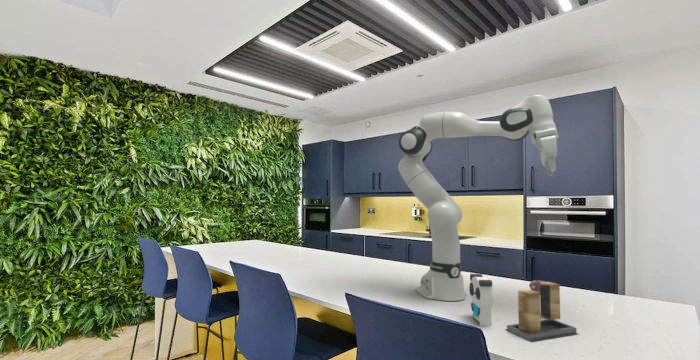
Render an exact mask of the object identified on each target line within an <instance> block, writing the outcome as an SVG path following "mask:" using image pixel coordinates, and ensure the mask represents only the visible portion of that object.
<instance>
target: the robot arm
mask: <svg viewBox="0 0 700 360" xmlns="http://www.w3.org/2000/svg"><path fill="white" fill-rule="evenodd" d="M556 126H557V125H556V123H555V122H554V112H553V108H552V106H551V103H550V100H549V99H548V97H547V96H546V95H543V94H532V95H531V94H530V95H528V96H526V97H525V98H523V100H522V101H521V102H520V103H519V104H517V105H515V106H513V107H511V108H508V109H506V110H505V111H504V112H503V113H502V114H501V116H500V118H499V120H498V121H497V120H496V121H491V120H490V121H486V120H485V121H484V120H477V119H474V118H472V117H470V116H469V115H467V114H465V113H464V112H460V111H454V110H453V111H452V110H451V111H449V110H448V111H439V112H432V113H429V114H425V115H423V116H422V117H421V119H420V121H419V125H415V126H413V127H412V128H410V129H407V130H406V131H404V132H402V134H401V135H400V136H399V138H398V147H399V149H400V150H401V152H403V154H404V157H403V158H401V160H399V163H398V165H397V169H398V172H399V173H400V176H401V177H402V179H403V180H404V182H405V184H406V185H407V187H408V188H409V189H410V191H411V193H413V195H414V196H415V198H416V199H417V200H418V201H419V203H421V204H423V205H424V207H426V209H427V210H428V211H427V219H428V222H429V230H430V235H431V244H432V245H431V246H432V260H431V261H430V262H429V265H430V266H429V270H428V271H427V272H426V273H425V274H423V275H422V276H421V278H420V285H419V286H416V287H415V291H416V292H418V294H420V295H422V296H423V297H424V298H426V299H429V300H438V301H445V302H457V301H462V300H465V299H466V296H467V292H466V291H465V286H464V276H463V275H462V273H461V272H462V262H461V241H460V238H459V232H458V224H460V222H461V221H462V218H463V210H462V208H461V206H460V205H459V204H458V203H457V202H456V201H455V199H454V198H453V197H452V196H451V195H450V194H449V193H448V192H447V191H446V189H444V188H443V186H441V184H440V183H439V182H438V180H437V179H436V178H435V177H434V176H433V174H432V173H431V171H429V169H428V168H427V166H426V165H425V164H424V162H425V161H426V159H427V158H428V156H429V155H431V152H432V150H433V143H432V141H433V140H436V139H454V138H464V137H465V138H468V137H491V138H492V137H494V138H495V137H498V138H499V137H500V138H503V139H506V140H508V141H511V142H519V141H522V140H524V139H525V138H526V137H527V136H528V135H529V137H530V142H531V145H534V146H535V147H536V148H537V149H538V152H539V158H540V160H541V165H542V166H543V167H545V169H546V171H547V174H548V176H553V175H554V174H555V171H557V165H556V164H557V163H556V158H557V156H558V146H557V145H558V144H557V140H558V139H559V138H560V137H559V134H558V130H557V127H556Z"/></svg>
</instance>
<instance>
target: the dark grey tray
mask: <svg viewBox="0 0 700 360" xmlns="http://www.w3.org/2000/svg"><path fill="white" fill-rule="evenodd" d="M540 322H541V332H535V333H526V332H524V331H522V330H520V329H519V323H514V324H508V325H506V328H505V329H504V331H507V332H508V333H510V334H513V335H516V336H517V337H519V338H521V339H524V340H526V341H528V342H530V343H537V342H543V341H549V340H554V339H555V340H556V339H561V338H566V337H573V336H580V333H578V332H577V327H576V326H572V325H570V324H568V323H564V322H562V321H559V320H557V319H542V320H540Z"/></svg>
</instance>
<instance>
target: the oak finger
mask: <svg viewBox="0 0 700 360" xmlns="http://www.w3.org/2000/svg"><path fill="white" fill-rule="evenodd" d="M560 295H561V292H560V284H558V283H555V282H551V281H545V282H541V283H540V317H543V318H545V319H546V320H549V319H554V320H561V296H560Z"/></svg>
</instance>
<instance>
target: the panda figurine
mask: <svg viewBox="0 0 700 360" xmlns="http://www.w3.org/2000/svg"><path fill="white" fill-rule="evenodd" d="M469 279H470V283H469V295H470V298H471V303H470V306H471V307H470V308H471V311H472V316H473V317H472V319H474V320H476V321H477V322H478V326H488V327H489V326H490V327H491V326H493V325H492V307H493V304H494V295H493V293H494V292H493V281H492V280H491V279H489V278H488V277H485V276H483V274H482V273H470V274H469Z"/></svg>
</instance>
